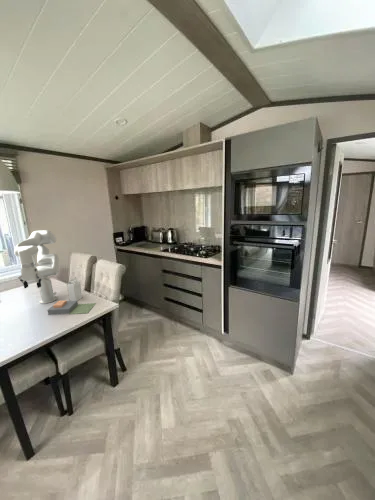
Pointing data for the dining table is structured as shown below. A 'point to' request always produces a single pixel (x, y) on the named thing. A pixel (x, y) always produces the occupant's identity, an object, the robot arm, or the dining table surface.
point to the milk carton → (74, 289)
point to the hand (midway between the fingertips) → (33, 287)
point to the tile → (60, 304)
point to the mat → (82, 308)
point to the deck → (63, 308)
